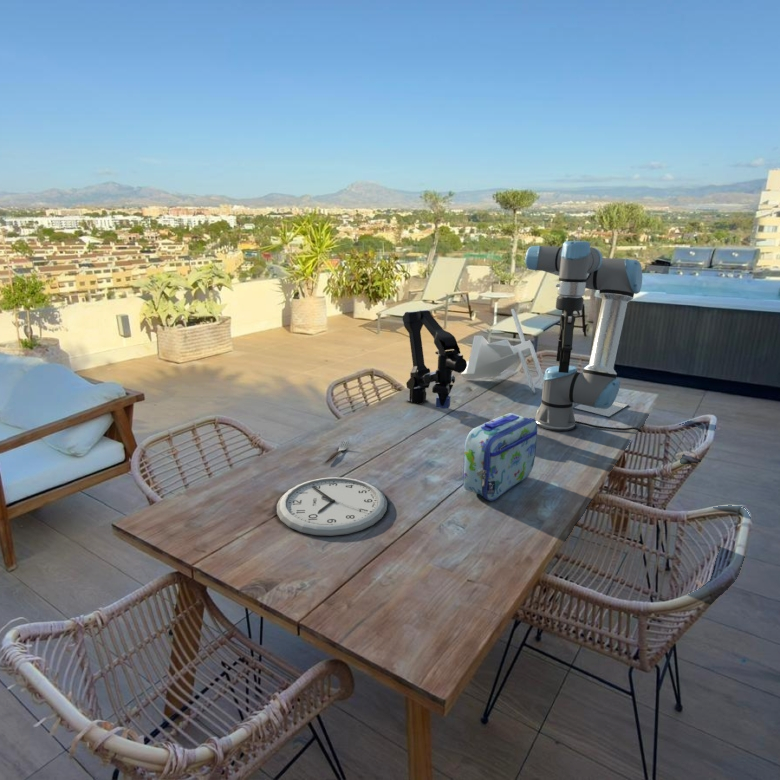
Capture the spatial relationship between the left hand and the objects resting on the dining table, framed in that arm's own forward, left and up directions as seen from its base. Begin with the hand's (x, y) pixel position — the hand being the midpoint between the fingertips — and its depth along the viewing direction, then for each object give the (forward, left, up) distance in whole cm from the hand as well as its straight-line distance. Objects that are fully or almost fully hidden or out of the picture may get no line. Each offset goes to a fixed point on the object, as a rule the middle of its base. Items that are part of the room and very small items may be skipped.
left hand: (443, 404), depth 212 cm
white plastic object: (+3, +51, -4) cm, 51 cm away
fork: (-10, -56, -4) cm, 57 cm away
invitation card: (+51, +50, -4) cm, 71 cm away
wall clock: (+10, -82, -4) cm, 83 cm away
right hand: (+51, -23, +29) cm, 63 cm away
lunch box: (+43, -45, -4) cm, 63 cm away
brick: (0, 0, -1) cm, 1 cm away
